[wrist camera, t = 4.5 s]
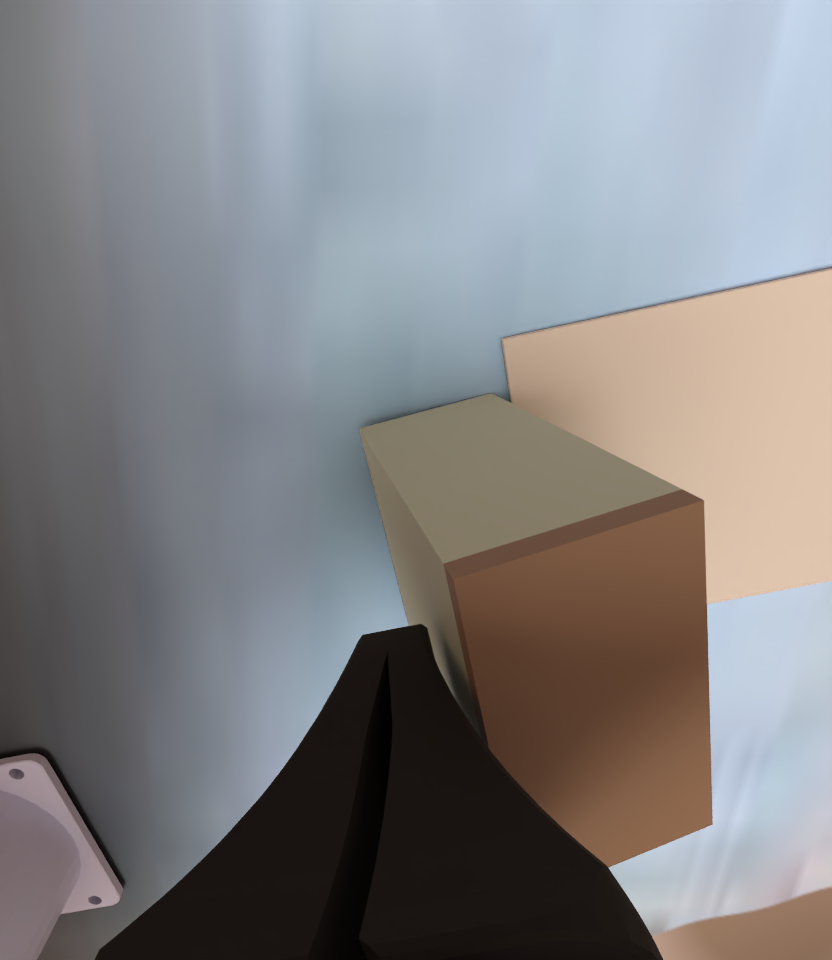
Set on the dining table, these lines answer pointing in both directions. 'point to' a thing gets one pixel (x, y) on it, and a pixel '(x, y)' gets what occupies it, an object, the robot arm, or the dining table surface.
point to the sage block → (558, 612)
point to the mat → (709, 416)
